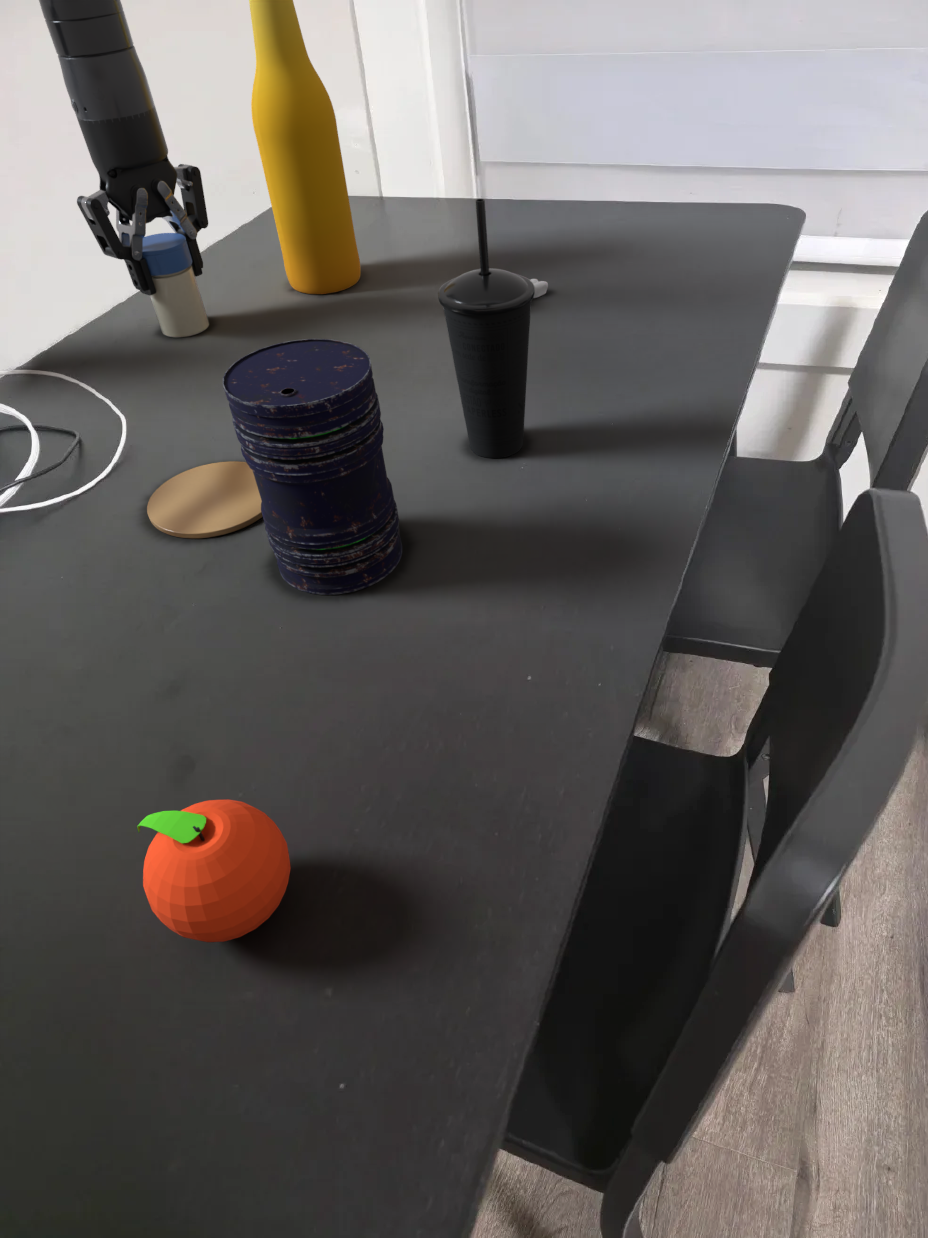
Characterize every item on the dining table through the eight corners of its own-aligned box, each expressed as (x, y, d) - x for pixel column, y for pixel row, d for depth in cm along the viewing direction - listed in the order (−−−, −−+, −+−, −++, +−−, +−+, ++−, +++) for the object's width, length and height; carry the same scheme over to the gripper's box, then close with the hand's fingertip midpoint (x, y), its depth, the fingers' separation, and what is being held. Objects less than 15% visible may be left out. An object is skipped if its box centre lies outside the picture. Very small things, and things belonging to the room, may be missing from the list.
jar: (158, 339, 96) (131, 259, 90) (165, 320, 100) (139, 242, 94) (206, 334, 97) (182, 254, 90) (211, 316, 100) (188, 237, 94)
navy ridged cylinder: (292, 519, 69) (242, 340, 59) (410, 516, 69) (382, 335, 58) (263, 597, 62) (201, 409, 52) (395, 595, 62) (359, 405, 51)
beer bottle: (375, 282, 105) (328, -16, 85) (307, 301, 102) (242, -5, 81) (342, 262, 111) (291, -22, 90) (277, 280, 108) (209, -11, 87)
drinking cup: (473, 475, 73) (449, 224, 58) (442, 435, 78) (414, 195, 63) (553, 453, 74) (549, 204, 60) (518, 416, 80) (506, 178, 65)
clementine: (126, 936, 43) (67, 860, 38) (205, 829, 48) (162, 748, 43) (257, 986, 41) (214, 913, 36) (328, 869, 46) (298, 789, 40)
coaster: (126, 536, 69) (124, 531, 68) (179, 464, 76) (177, 459, 76) (255, 540, 67) (253, 535, 67) (295, 467, 75) (294, 462, 75)
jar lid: (189, 272, 92) (181, 248, 90) (134, 278, 91) (126, 254, 89) (195, 254, 96) (188, 230, 94) (143, 259, 95) (135, 235, 94)
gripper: (71, 127, 77) (138, 313, 89) (197, 93, 85) (243, 268, 97) (27, 120, 81) (98, 299, 93) (152, 88, 88) (202, 257, 100)
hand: (172, 283), depth 95 cm, fingers closed on jar lid, 5 cm apart
